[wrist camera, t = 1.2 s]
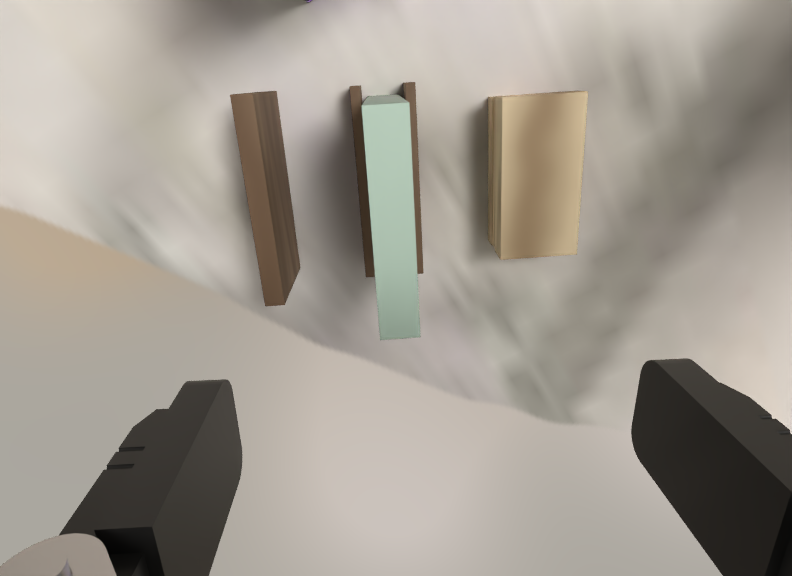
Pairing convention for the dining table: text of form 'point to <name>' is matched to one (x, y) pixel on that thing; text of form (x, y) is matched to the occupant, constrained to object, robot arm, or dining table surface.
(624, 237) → the dining table surface
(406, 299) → the sage sheet
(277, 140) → the walnut rack
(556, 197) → the offcut top
